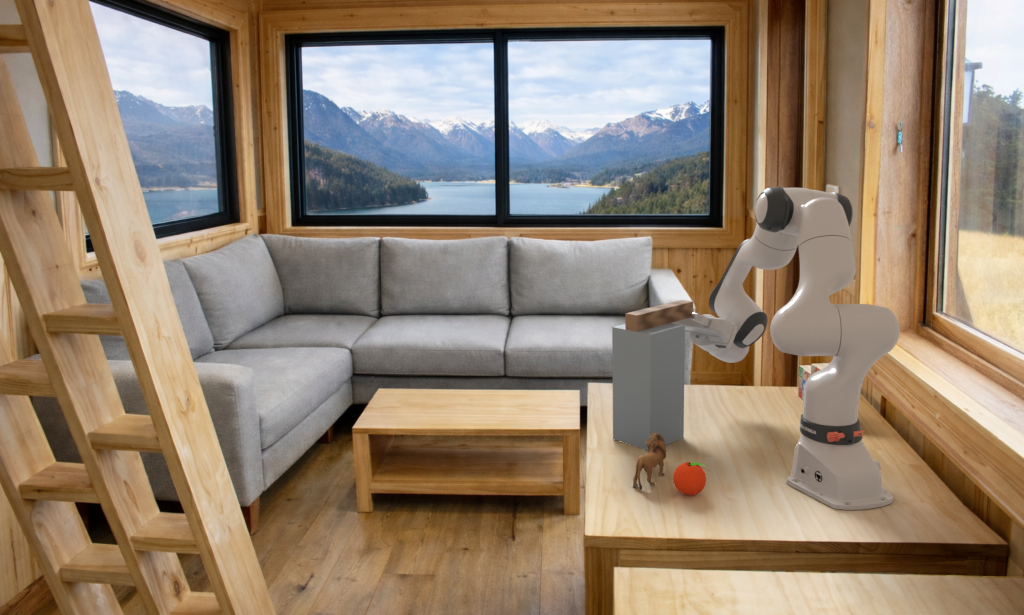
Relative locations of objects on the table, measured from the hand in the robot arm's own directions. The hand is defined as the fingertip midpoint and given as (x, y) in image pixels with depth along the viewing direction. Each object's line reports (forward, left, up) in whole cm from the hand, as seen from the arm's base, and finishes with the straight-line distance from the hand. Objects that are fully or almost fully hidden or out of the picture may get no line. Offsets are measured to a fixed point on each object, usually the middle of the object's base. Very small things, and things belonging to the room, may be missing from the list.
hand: (678, 313), depth 214 cm
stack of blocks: (+4, -44, -31) cm, 54 cm away
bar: (-4, +6, -1) cm, 8 cm away
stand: (-6, +10, -30) cm, 33 cm away
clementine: (-40, +13, -31) cm, 52 cm away
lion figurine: (-30, +19, -31) cm, 47 cm away
